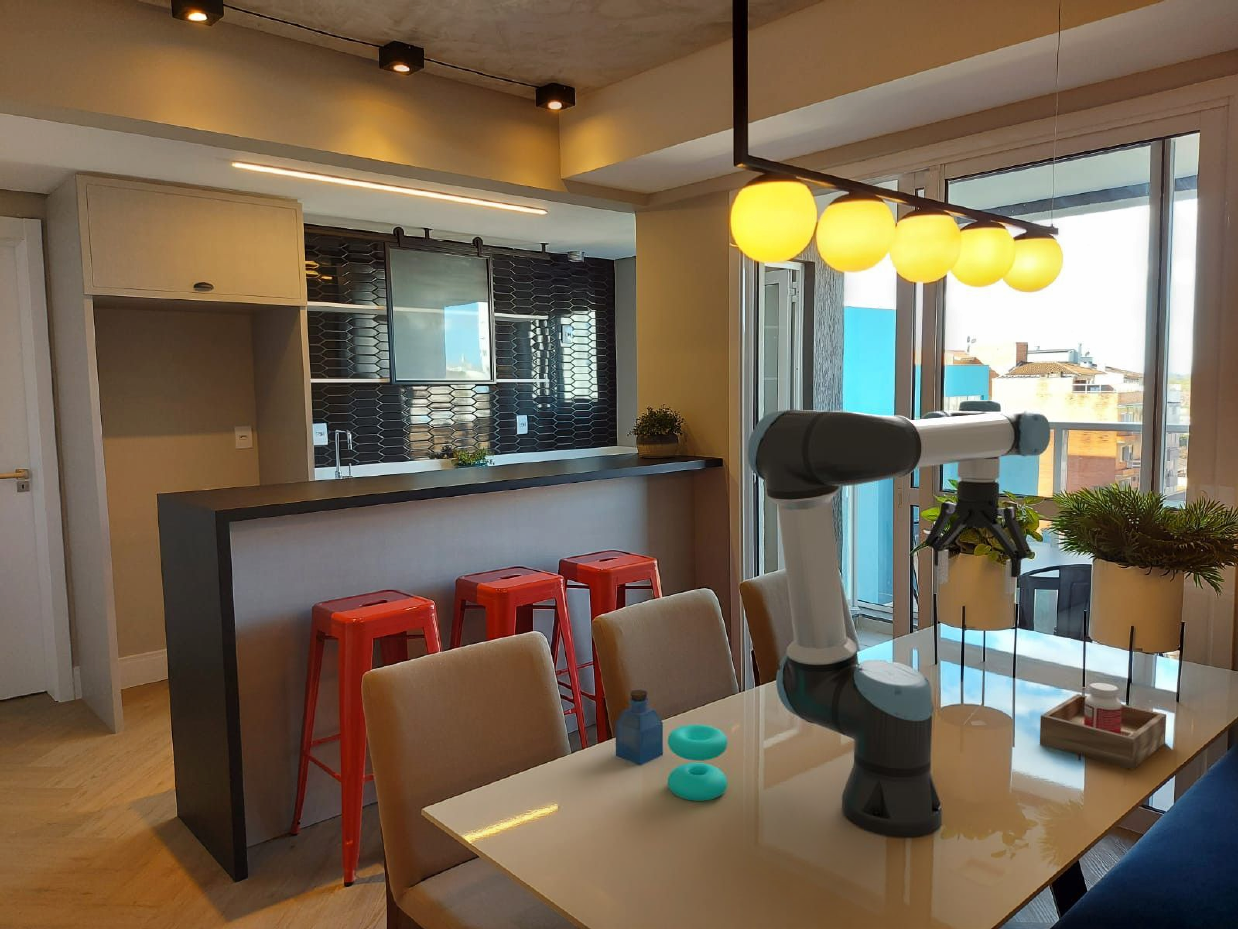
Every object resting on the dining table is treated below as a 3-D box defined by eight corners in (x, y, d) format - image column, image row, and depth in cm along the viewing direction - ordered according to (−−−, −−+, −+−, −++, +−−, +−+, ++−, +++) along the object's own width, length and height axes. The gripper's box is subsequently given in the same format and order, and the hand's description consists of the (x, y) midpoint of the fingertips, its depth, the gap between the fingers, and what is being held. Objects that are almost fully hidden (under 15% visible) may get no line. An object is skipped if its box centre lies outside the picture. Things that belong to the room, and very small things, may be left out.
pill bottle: (1126, 745, 168) (1129, 688, 167) (1109, 752, 164) (1112, 694, 163) (1093, 734, 173) (1096, 679, 172) (1076, 741, 169) (1079, 685, 169)
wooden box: (1132, 769, 157) (1133, 739, 156) (1039, 743, 168) (1040, 715, 168) (1165, 742, 169) (1166, 714, 168) (1076, 720, 180) (1077, 694, 180)
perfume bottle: (662, 755, 164) (662, 692, 163) (640, 765, 160) (640, 700, 159) (637, 746, 168) (637, 684, 168) (615, 756, 164) (615, 693, 163)
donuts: (675, 719, 155) (732, 725, 152) (675, 774, 156) (731, 781, 153) (661, 740, 145) (721, 747, 143) (661, 799, 146) (721, 807, 143)
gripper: (1052, 482, 164) (1049, 595, 166) (928, 474, 183) (925, 575, 184) (1035, 485, 159) (1032, 601, 161) (909, 477, 178) (907, 581, 179)
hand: (975, 588), depth 173 cm, fingers open, 13 cm apart
